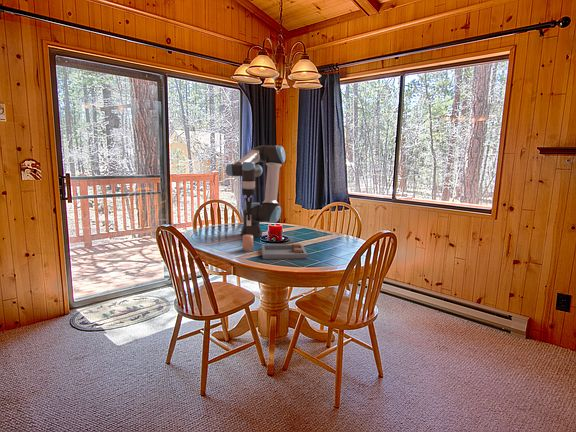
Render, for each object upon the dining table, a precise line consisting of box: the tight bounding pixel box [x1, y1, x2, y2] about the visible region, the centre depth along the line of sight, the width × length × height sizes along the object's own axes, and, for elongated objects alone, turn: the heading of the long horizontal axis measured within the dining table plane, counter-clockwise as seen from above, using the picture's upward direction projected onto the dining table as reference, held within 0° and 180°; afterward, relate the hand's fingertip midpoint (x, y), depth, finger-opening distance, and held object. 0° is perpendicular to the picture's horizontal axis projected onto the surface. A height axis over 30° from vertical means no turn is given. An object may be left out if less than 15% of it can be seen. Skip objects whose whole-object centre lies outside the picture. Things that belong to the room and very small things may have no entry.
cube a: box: [291, 243, 301, 252], centre depth 220 cm, size 4×4×4 cm
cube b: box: [294, 248, 302, 253], centre depth 210 cm, size 4×4×4 cm
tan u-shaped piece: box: [242, 235, 254, 252], centre depth 221 cm, size 6×6×9 cm
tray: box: [261, 243, 308, 260], centre depth 214 cm, size 21×25×3 cm
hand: (248, 223), depth 219 cm, fingers open, 13 cm apart
